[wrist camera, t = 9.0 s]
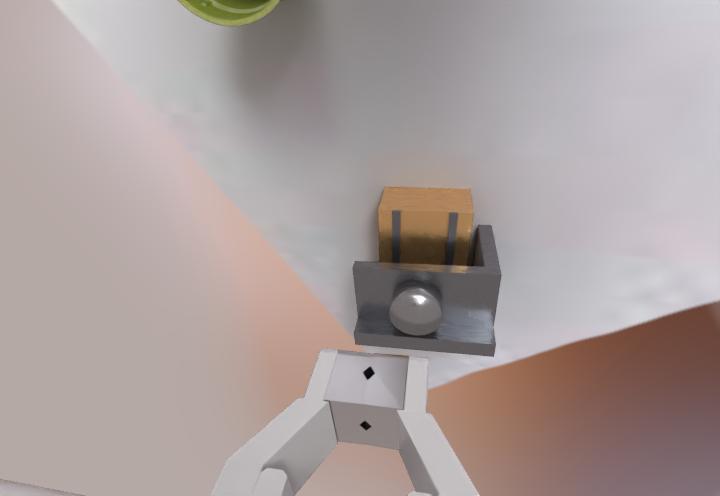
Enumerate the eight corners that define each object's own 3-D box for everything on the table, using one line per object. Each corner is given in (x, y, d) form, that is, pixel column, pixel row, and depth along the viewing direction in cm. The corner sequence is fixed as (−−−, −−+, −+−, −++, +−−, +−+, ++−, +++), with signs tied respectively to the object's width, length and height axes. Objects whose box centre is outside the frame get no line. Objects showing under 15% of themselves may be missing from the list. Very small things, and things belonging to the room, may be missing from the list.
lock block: (385, 186, 37) (377, 211, 32) (470, 188, 35) (473, 215, 31) (386, 261, 42) (379, 292, 37) (461, 266, 40) (463, 299, 36)
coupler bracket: (368, 222, 39) (347, 282, 31) (491, 225, 37) (504, 290, 28) (372, 278, 43) (355, 344, 35) (483, 284, 40) (493, 356, 32)
